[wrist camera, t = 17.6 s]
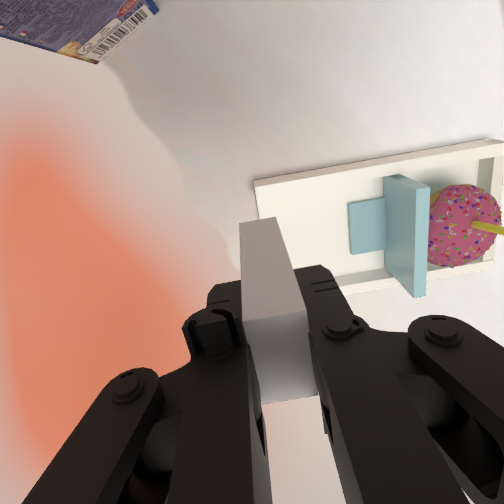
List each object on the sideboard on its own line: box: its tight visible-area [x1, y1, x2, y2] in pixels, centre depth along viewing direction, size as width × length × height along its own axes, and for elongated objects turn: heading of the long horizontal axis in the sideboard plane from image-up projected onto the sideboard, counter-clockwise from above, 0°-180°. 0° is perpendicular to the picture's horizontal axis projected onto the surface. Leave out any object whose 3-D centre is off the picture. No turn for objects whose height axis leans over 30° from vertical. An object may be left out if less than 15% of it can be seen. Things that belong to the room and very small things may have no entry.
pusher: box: [348, 174, 430, 298], centre depth 35 cm, size 11×5×7 cm, turn 10°
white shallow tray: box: [253, 139, 504, 295], centre depth 38 cm, size 14×25×3 cm, turn 100°
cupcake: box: [427, 184, 504, 268], centre depth 33 cm, size 9×8×12 cm
